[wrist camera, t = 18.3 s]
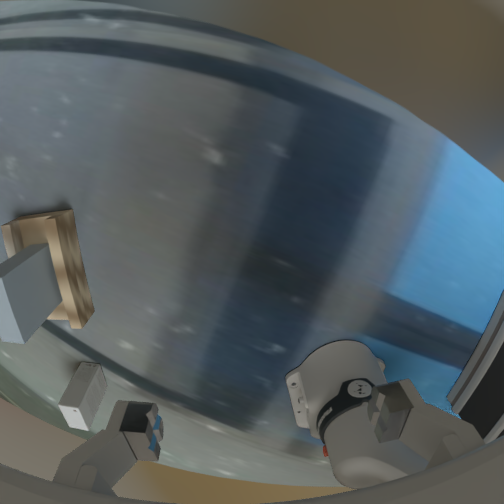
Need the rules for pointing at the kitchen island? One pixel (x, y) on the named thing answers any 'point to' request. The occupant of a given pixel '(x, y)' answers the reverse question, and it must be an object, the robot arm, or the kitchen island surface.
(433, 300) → the kitchen island surface
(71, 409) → the skincare box
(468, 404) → the toaster
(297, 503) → the robot arm
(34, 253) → the box
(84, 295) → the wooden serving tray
